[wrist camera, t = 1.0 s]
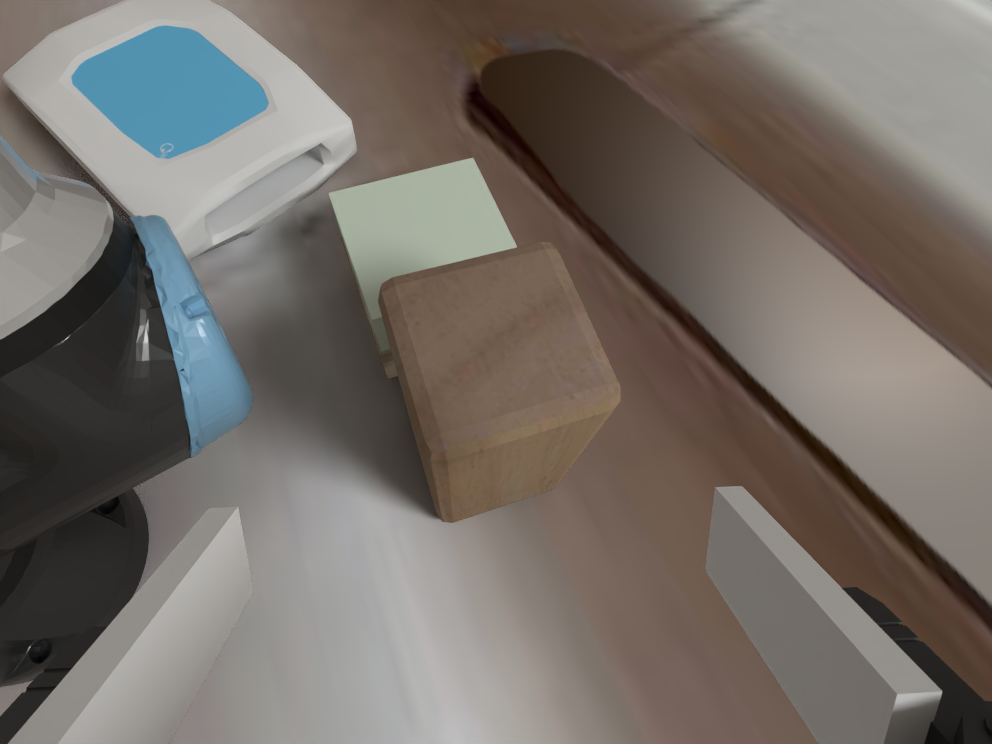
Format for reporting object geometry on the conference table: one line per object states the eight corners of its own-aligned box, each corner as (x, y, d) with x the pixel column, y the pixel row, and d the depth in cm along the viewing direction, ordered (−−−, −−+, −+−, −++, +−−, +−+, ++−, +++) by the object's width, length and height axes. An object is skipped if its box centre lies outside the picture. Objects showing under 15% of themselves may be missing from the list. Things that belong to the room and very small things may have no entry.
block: (407, 411, 45) (370, 273, 26) (519, 379, 46) (556, 229, 28) (440, 528, 41) (424, 462, 23) (561, 488, 43) (634, 397, 25)
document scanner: (207, 30, 63) (182, -28, 57) (364, 160, 56) (353, 109, 50) (33, 116, 56) (-16, 59, 50) (188, 277, 49) (152, 233, 43)
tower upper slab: (381, 351, 42) (371, 319, 37) (341, 234, 46) (328, 192, 41) (522, 307, 44) (529, 272, 40) (471, 200, 48) (473, 157, 44)
